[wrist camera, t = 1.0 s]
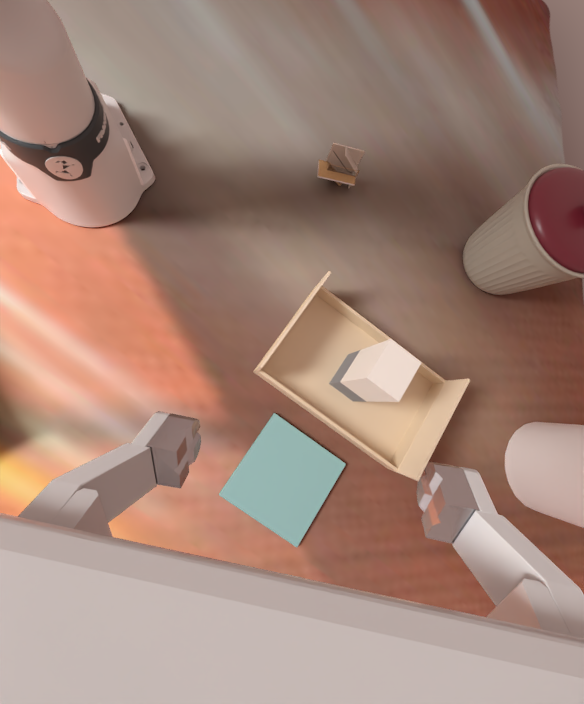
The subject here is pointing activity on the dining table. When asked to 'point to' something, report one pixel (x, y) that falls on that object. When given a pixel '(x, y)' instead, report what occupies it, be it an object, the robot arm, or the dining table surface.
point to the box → (376, 373)
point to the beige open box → (351, 416)
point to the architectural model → (340, 164)
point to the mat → (283, 480)
